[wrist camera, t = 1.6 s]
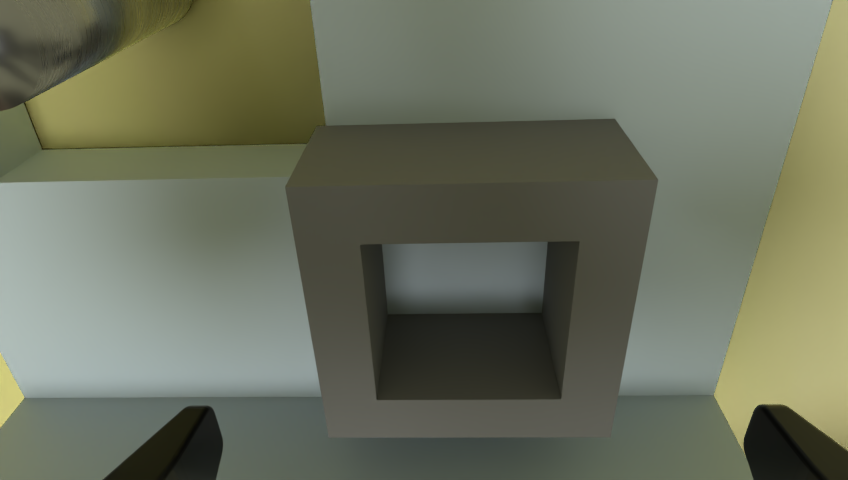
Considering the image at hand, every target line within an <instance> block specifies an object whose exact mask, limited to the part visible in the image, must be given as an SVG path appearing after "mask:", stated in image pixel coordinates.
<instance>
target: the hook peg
mask: <svg viewBox="0 0 848 480" xmlns="http://www.w3.org/2000/svg"><path fill="white" fill-rule="evenodd" d="M192 2H193V0H0V111H4V110H8V109H11V108H14V107H16V106H18V105H20V104H22V103H24V102H26V101H28V100H30V99H32V98H33V97H35V96H37V95H39V94H41V93H43V92H45V91H47V90H49V89H50V88H52V87H54V86H56V85H58V84H60V83H62V82H64V81H66V80H67V79H69V78H71V77H73V76H75V75H77V74H79V73H81V72H83V71H84V70H86V69H88V68H90V67H92V66H94V65H96V64H98V63H100V62H102V61H103V60H105V59H107V58H109V57H111V56H113V55H115V54H117V53H119V52H120V51H122V50H124V49H126V48H128V47H130V46H132V45H134V44H136V43H137V42H139V41H141V40H143V39H145V38H147V37H149V36H151V35H153V34H154V33H156V32H158V31H160V30H162V29H164V28H166V27H168V26H170V25H171V24H173V23H175V22H177V21H179V20H180V19H181V18H183V17H184V16H185V14H186V13H187V12H188V10H189V9H190V7H191V4H192Z"/></svg>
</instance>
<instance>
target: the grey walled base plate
mask: <svg viewBox="0 0 848 480" xmlns="http://www.w3.org/2000/svg"><path fill="white" fill-rule="evenodd" d="M832 1H833V0H310V5H311V13H312V21H313V29H314V37H315V45H316V52H317V60H318V68H319V76H320V84H321V92H322V99H323V107H324V115H325V123H326V126H335V125H376V124H418V123H459V122H501V121H542V120H584V119H615V120H616V121H617V122H618V124H619V125H620V127H621V128H622V129H623V131H624V132H625V134H626V135H627V136H628V138H629V139H630V141H631V142H632V143H633V145H634V146H635V148H636V149H637V150H638V152H639V153H640V155H641V156H642V157H643V159H644V160H645V162H646V163H647V164H648V166H649V167H650V169H651V170H652V171H653V173H654V174H655V176H656V177H657V178H658V185H657V190H656V195H655V201H654V206H653V212H652V217H651V222H650V228H649V233H648V238H647V244H646V249H645V255H644V260H643V265H642V271H641V276H640V281H639V287H638V292H637V298H636V303H635V308H634V314H633V319H632V324H631V330H630V335H629V341H628V346H627V351H626V357H625V362H624V367H623V373H622V378H621V384H620V389H619V394H618V400H617V405H616V410H615V416H614V421H613V427H612V432H611V437H483V438H329V436H328V430H327V425H326V419H325V413H324V407H323V402H322V396H321V390H320V385H319V379H318V373H317V367H316V362H315V356H314V350H313V344H312V339H311V333H310V327H309V322H308V316H307V310H306V304H305V299H304V293H303V287H302V281H301V276H300V270H299V264H298V259H297V253H296V247H295V241H294V236H293V230H292V224H291V218H290V213H289V207H288V201H287V196H286V190H285V186H286V184H287V182H288V180H289V178H290V176H291V174H292V173H293V171H294V169H295V167H296V165H297V163H298V161H299V159H300V157H301V155H302V153H303V151H304V149H305V148H306V146H307V144H268V145H224V146H180V147H137V148H93V149H49V150H42V148H41V145H40V143H39V140H38V138H37V135H36V133H35V130H34V128H33V125H32V123H31V120H30V117H29V115H28V112H27V110H26V107H25V105H24V103H22V104H20V105H18V106H16V107H14V108H11V109H8V110H4V111H0V353H1V354H2V356H3V358H4V360H5V362H6V364H7V366H8V367H9V369H10V371H11V373H12V375H13V377H14V379H15V381H16V382H17V384H18V386H19V388H20V390H21V392H22V394H23V395H24V397H25V398H24V400H23V401H22V402H21V403H20V405H19V406H18V407H17V408H16V409H15V411H14V412H13V413H12V414H11V416H10V417H9V418H8V419H7V421H6V422H5V423H4V424H3V426H2V427H1V428H0V480H102V479H104V478H105V477H106V476H107V475H108V474H109V473H110V472H112V471H113V470H114V469H115V468H116V467H117V466H118V465H119V464H121V463H122V462H123V461H124V460H125V459H126V458H127V457H129V456H130V455H131V454H132V453H133V452H134V451H135V450H137V449H138V448H139V447H140V446H141V445H142V444H143V443H145V442H146V441H147V440H148V439H149V438H150V437H151V436H153V435H154V434H155V433H156V432H157V431H158V430H159V429H160V428H162V427H163V426H164V425H165V424H166V423H167V422H168V421H170V420H171V419H172V418H173V417H174V416H175V415H176V414H178V413H179V412H180V411H181V410H182V409H183V408H185V407H187V406H190V405H208V406H211V407H212V408H213V409H214V412H215V415H216V418H217V421H218V424H219V427H220V431H221V434H222V438H223V451H222V456H221V460H220V465H219V469H218V473H217V478H216V480H753V477H752V474H751V471H750V468H749V464H748V461H747V458H746V456H745V455H744V453H743V451H742V449H741V447H740V445H739V443H738V441H737V439H736V437H735V435H734V433H733V432H732V430H731V428H730V426H729V424H728V422H727V420H726V418H725V416H724V414H723V412H722V410H721V409H720V407H719V405H718V403H717V401H716V399H715V397H714V392H715V389H716V386H717V382H718V379H719V376H720V372H721V369H722V366H723V362H724V359H725V356H726V352H727V349H728V346H729V343H730V339H731V336H732V333H733V329H734V326H735V323H736V319H737V316H738V313H739V309H740V306H741V303H742V299H743V296H744V293H745V290H746V286H747V283H748V280H749V276H750V273H751V270H752V266H753V263H754V260H755V256H756V253H757V250H758V246H759V243H760V240H761V237H762V233H763V230H764V227H765V223H766V220H767V217H768V213H769V210H770V207H771V203H772V200H773V197H774V193H775V190H776V187H777V184H778V180H779V177H780V174H781V170H782V167H783V164H784V160H785V157H786V154H787V150H788V147H789V144H790V140H791V137H792V134H793V130H794V127H795V124H796V121H797V117H798V114H799V111H800V107H801V104H802V101H803V97H804V94H805V91H806V87H807V84H808V81H809V77H810V74H811V71H812V68H813V64H814V61H815V58H816V54H817V51H818V48H819V44H820V41H821V38H822V34H823V31H824V28H825V24H826V21H827V18H828V15H829V11H830V8H831V5H832ZM547 244H548V242H495V243H429V244H382V252H383V263H384V275H385V287H386V298H387V310H388V314H468V313H542V304H543V292H544V280H545V268H546V256H547Z"/></svg>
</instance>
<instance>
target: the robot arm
mask: <svg viewBox="0 0 848 480" xmlns="http://www.w3.org/2000/svg"><path fill="white" fill-rule="evenodd" d="M222 451H223V438H222V434H221V431H220V427H219V424H218V421H217V418H216V415H215V412H214V409H213V408H212V407H211V406H208V405H190V406H187V407H185V408H183V409H182V410H181V411H180V412H179V413H178V414H176V415H175V416H174V417H173V418H172V419H171V420H170V421H168V422H167V423H166V424H165V425H164V426H163V427H162V428H160V429H159V430H158V431H157V432H156V433H155V434H154V435H153V436H151V437H150V438H149V439H148V440H147V441H146V442H145V443H143V444H142V445H141V446H140V447H139V448H138V449H137V450H135V451H134V452H133V453H132V454H131V455H130V456H129V457H127V458H126V459H125V460H124V461H123V462H122V463H121V464H119V465H118V466H117V467H116V468H115V469H114V470H113V471H112V472H110V473H109V474H108V475H107V476H106V477H105V478H104V479H102V480H216V478H217V473H218V469H219V465H220V460H221V456H222ZM744 451H745V455H746V458H747V461H748V464H749V468H750V471H751V474H752V477H753V480H848V451H847V450H846V449H845V448H843V447H842V446H841V445H839V444H838V443H837V442H835V441H834V440H832V439H831V438H830V437H828V436H827V435H826V434H824V433H823V432H822V431H820V430H819V429H818V428H816V427H815V426H813V425H812V424H811V423H809V422H808V421H807V420H805V419H804V418H803V417H801V416H800V415H798V414H797V413H796V412H794V411H793V410H792V409H790V408H789V407H787V406H785V405H758V406H757V407H756V408H755V410H754V412H753V415H752V417H751V420H750V423H749V426H748V429H747V431H746V434H745V437H744Z"/></svg>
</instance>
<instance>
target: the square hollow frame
mask: <svg viewBox="0 0 848 480" xmlns="http://www.w3.org/2000/svg"><path fill="white" fill-rule="evenodd" d="M657 185H658V178H657V177H656V176H655V174H654V173H653V171H652V170H651V169H650V167H649V166H648V164H647V163H646V162H645V160H644V159H643V157H642V156H641V155H640V153H639V152H638V150H637V149H636V148H635V146H634V145H633V143H632V142H631V141H630V139H629V138H628V136H627V135H626V134H625V132H624V131H623V129H622V128H621V127H620V125H619V124H618V122H617V121H616V120H615V119H584V120H542V121H501V122H459V123H418V124H376V125H335V126H316V128H315V130H314V132H313V134H312V136H311V138H310V140H309V142H308V144H307V146H306V148H305V149H304V151H303V153H302V155H301V157H300V159H299V161H298V163H297V165H296V167H295V169H294V171H293V173H292V174H291V176H290V178H289V180H288V182H287V184H286V186H285V190H286V196H287V201H288V207H289V213H290V218H291V224H292V230H293V236H294V241H295V247H296V253H297V259H298V264H299V270H300V276H301V281H302V287H303V293H304V299H305V304H306V310H307V316H308V322H309V327H310V333H311V339H312V344H313V350H314V356H315V362H316V367H317V373H318V379H319V385H320V390H321V396H322V402H323V407H324V413H325V419H326V425H327V430H328V436H329V438H483V437H611V432H612V427H613V421H614V416H615V410H616V405H617V400H618V394H619V389H620V384H621V378H622V373H623V367H624V362H625V357H626V351H627V346H628V341H629V335H630V330H631V324H632V319H633V314H634V308H635V303H636V298H637V292H638V287H639V281H640V276H641V271H642V265H643V260H644V255H645V249H646V244H647V238H648V233H649V228H650V222H651V217H652V212H653V206H654V201H655V195H656V190H657ZM495 242H548V244H547V256H546V268H545V280H544V292H543V304H542V313H468V314H388V310H387V298H386V287H385V275H384V263H383V252H382V244H429V243H495Z"/></svg>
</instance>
